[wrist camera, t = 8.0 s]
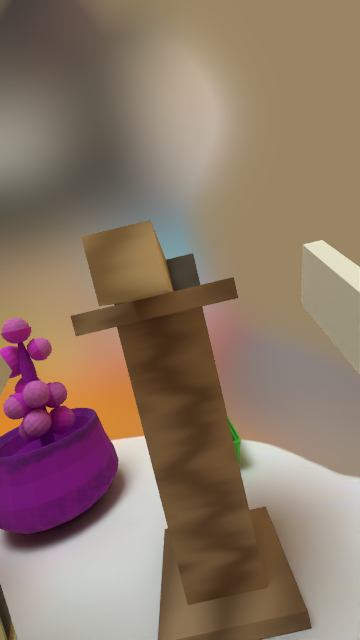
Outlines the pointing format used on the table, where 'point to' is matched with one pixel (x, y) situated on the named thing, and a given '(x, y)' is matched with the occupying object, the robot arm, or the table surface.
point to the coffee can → (5, 621)
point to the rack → (200, 476)
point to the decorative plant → (47, 446)
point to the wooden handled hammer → (135, 265)
